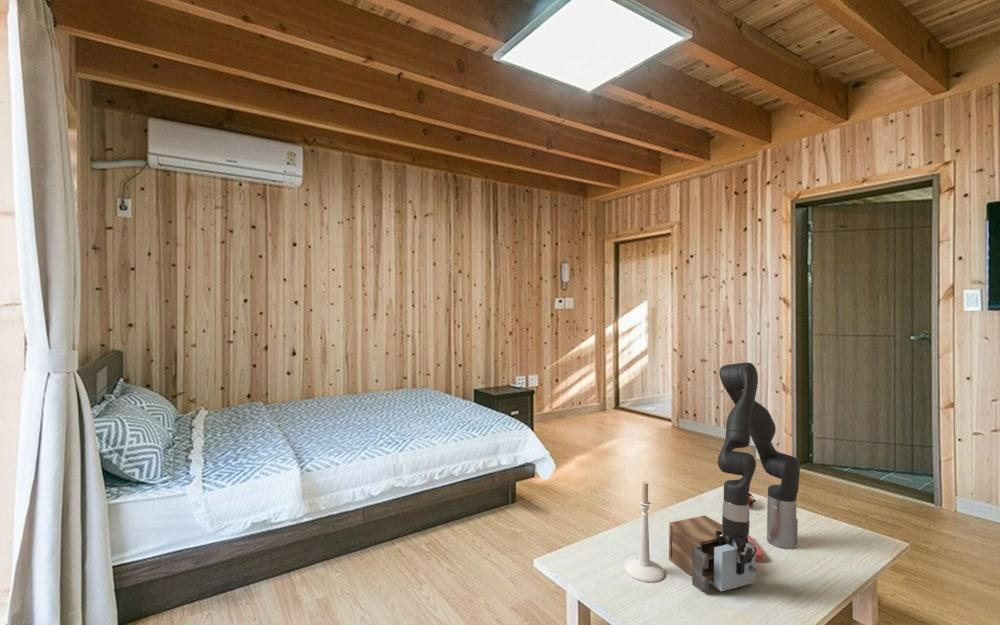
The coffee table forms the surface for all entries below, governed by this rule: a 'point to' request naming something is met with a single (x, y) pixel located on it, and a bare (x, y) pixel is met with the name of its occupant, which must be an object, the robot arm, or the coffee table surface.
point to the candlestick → (644, 550)
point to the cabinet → (694, 548)
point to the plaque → (757, 552)
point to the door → (731, 569)
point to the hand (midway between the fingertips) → (734, 570)
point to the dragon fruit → (751, 500)
